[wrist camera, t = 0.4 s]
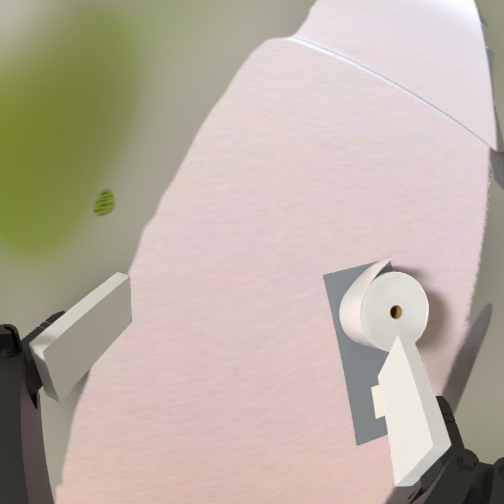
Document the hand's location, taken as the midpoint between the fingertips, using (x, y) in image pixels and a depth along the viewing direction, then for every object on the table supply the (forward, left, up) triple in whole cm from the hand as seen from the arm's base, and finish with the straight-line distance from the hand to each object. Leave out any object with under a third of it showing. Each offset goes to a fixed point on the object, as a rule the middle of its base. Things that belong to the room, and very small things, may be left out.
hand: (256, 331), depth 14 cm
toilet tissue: (-3, -18, -34) cm, 38 cm away
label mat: (-11, -18, -34) cm, 40 cm away
